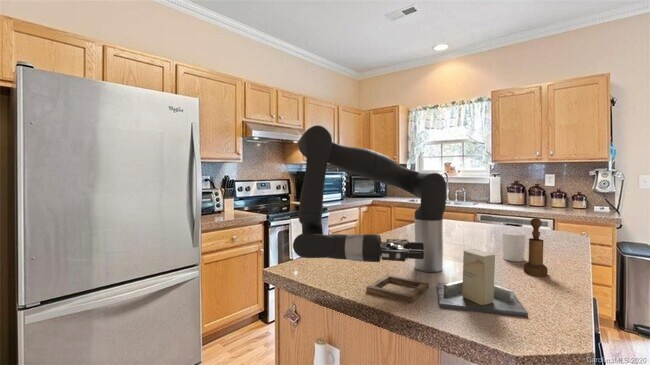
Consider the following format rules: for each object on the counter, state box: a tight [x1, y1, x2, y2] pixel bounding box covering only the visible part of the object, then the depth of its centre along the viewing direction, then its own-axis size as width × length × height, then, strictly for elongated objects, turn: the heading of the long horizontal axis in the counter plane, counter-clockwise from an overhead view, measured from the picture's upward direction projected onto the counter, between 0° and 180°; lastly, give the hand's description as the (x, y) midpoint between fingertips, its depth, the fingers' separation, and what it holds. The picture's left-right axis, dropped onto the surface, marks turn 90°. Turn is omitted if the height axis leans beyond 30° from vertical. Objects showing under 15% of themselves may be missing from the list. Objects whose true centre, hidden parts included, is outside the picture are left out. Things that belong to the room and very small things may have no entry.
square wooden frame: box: [365, 274, 430, 304], centre depth 90 cm, size 13×13×2 cm
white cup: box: [501, 230, 527, 263], centre depth 121 cm, size 8×8×10 cm
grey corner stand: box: [436, 279, 529, 318], centre depth 83 cm, size 16×19×4 cm
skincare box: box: [462, 248, 496, 305], centre depth 80 cm, size 6×4×12 cm
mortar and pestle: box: [523, 217, 548, 277], centre depth 104 cm, size 7×6×18 cm
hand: (423, 250), depth 85 cm, fingers open, 8 cm apart
